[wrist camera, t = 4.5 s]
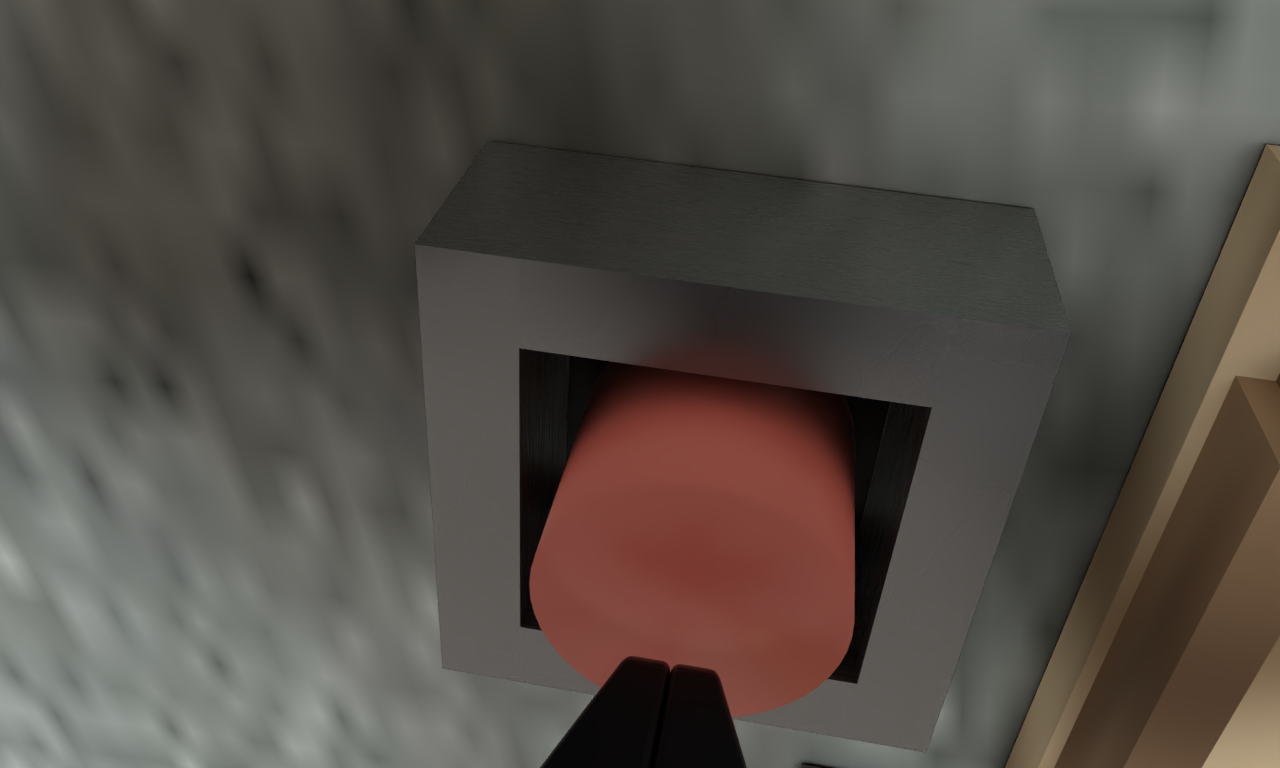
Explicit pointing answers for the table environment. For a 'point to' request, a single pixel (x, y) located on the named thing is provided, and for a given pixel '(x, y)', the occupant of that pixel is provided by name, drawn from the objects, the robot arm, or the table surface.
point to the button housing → (744, 350)
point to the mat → (806, 767)
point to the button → (704, 533)
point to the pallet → (1188, 550)
